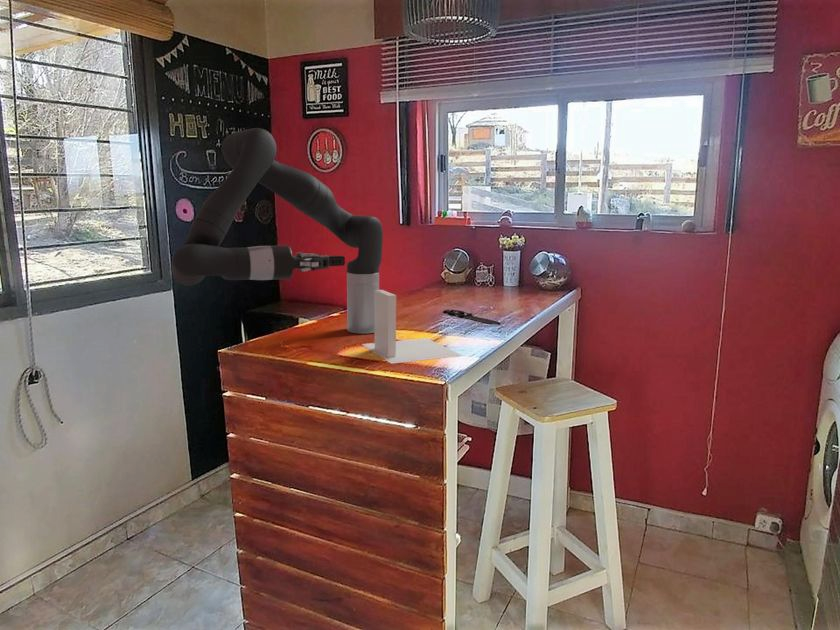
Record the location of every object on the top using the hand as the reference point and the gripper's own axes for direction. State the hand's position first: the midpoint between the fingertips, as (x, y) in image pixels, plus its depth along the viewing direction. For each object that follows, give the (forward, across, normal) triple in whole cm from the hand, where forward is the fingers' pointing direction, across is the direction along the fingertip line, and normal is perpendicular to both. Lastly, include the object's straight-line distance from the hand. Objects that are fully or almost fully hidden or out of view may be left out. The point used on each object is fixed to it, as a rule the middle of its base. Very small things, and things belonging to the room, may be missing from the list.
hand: (343, 260), depth 141 cm
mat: (+18, 0, +24) cm, 30 cm away
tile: (+10, 0, +23) cm, 25 cm away
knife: (+55, +33, +25) cm, 69 cm away
